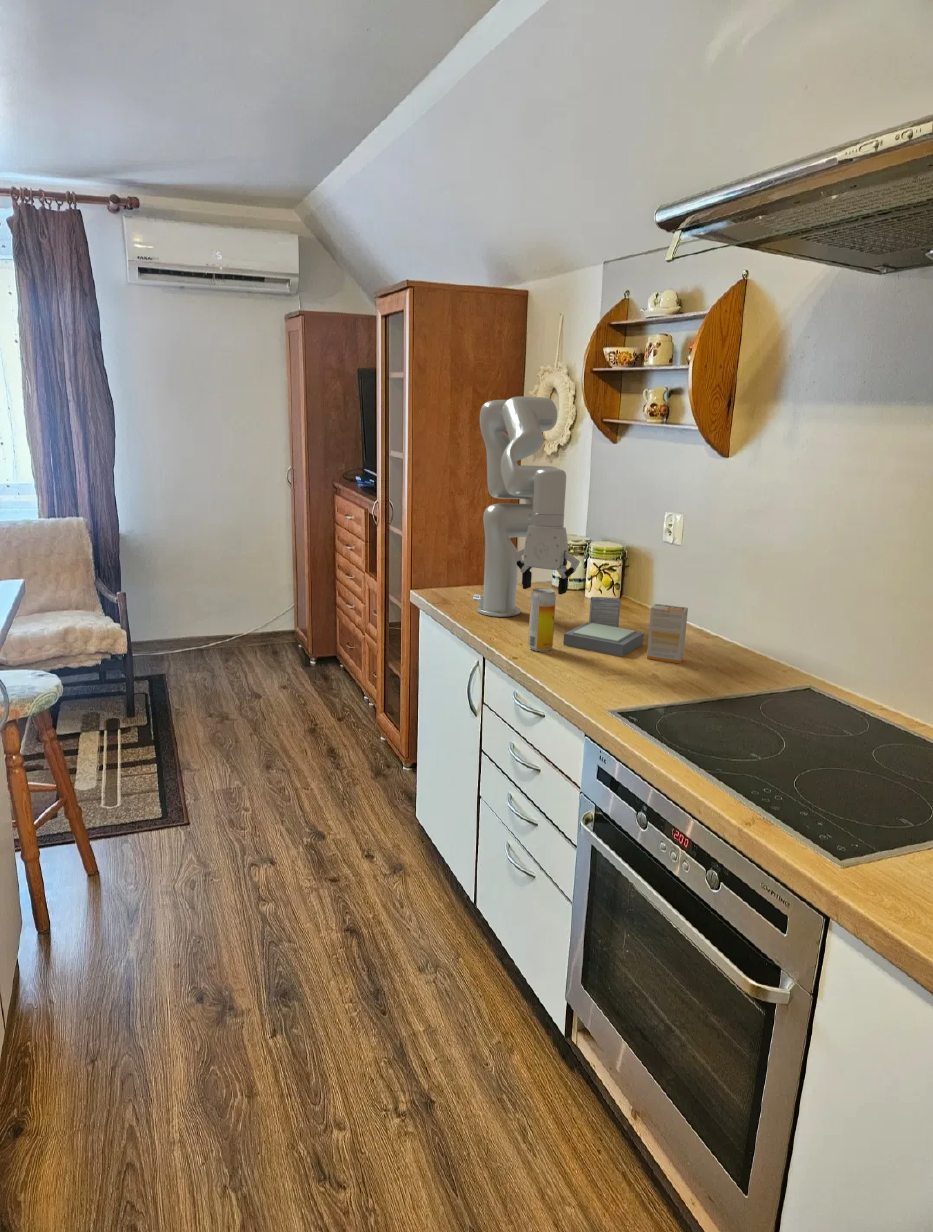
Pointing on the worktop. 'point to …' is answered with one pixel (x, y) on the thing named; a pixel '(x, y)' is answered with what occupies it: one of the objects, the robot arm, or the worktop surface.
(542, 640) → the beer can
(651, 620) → the supplement box
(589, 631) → the raised board
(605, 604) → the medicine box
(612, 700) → the worktop surface
